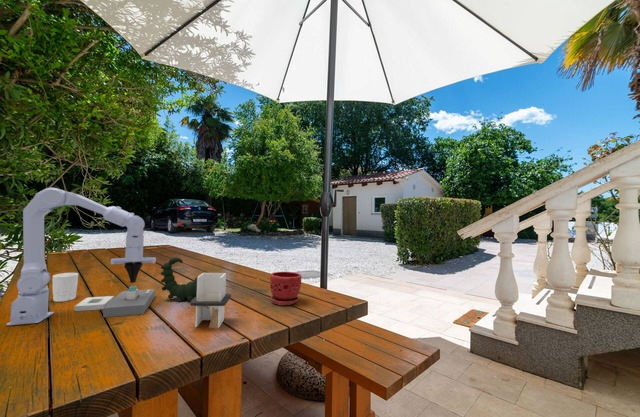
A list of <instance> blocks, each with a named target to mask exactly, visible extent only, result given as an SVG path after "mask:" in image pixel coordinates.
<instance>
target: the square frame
mask: <svg viewBox="0 0 640 417" xmlns="http://www.w3.org/2000/svg"><path fill="white" fill-rule="evenodd" d="M114 298H115V295H106V296H105V295H104V296H92V297H85V298H84V299H83V300H81V301H80V302H78V303H77V304H75V305H74V308H73V310H74V312H85V311H96V310H97V311H98V310H104V307H105V306H107V305H108V304H109V303H110V302H111V301H112V300H113V299H114Z"/></svg>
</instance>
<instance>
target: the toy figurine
mask: <svg viewBox="0 0 640 417" xmlns="http://www.w3.org/2000/svg"><path fill="white" fill-rule="evenodd" d="M176 263H181V264H183V263H184V261H183V259H182V258H179V257H177V256H176V257H172V258H170V259H169V260H168V262H165V263H163V264H162V265H160V269H161V270H162V271H161V272H160V275H161V276H163V278H162V279H160V282H161V283H164V286H162V287H161V290H162V292H164V291H166V290H167V292H168V293H169V294H168V295H167V298H168V299H169V300H172V299H173V298H174V297H176V298H177V299H176V301H177V302H183V300H185V299H187V301H188V302H191V300H193V299H194V298H195V297H196V296H197V277H198V276H200V275H201V274H199V275H198V276H196V277H195V278H194V279H193V281H188V282H187V283H186V284H185V283H182V284H179V283H178V282H177V281H176V279H175V278H176V277H175V275H174V270H173V268H172V267H173V265H174V264H176Z"/></svg>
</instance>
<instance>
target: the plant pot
mask: <svg viewBox="0 0 640 417" xmlns="http://www.w3.org/2000/svg"><path fill="white" fill-rule="evenodd" d="M269 280H270V281H269V286H270V287H269V288H270V291H271V297H270V301H271V302H272V303H273V304H275V305H278V306H291V305H294V304H296V303H297V302H298V301H299V297H298V295H299V293H300V290H301V285H302V274H300V273H297V272H294V271H275V272H272V273H271V274H270V277H269Z"/></svg>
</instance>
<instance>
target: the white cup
mask: <svg viewBox="0 0 640 417" xmlns="http://www.w3.org/2000/svg"><path fill="white" fill-rule="evenodd" d="M78 282H79V273H78V272H63V273H58V274H57V273H56V274H54V275H52V296H53V297H52V300H53V302H58V303H60V302H61V303H62V302H69V301H72V300H75V299H76V297H77V290H78Z"/></svg>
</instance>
